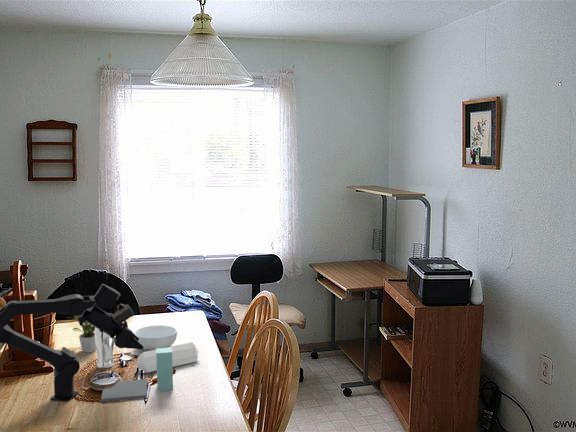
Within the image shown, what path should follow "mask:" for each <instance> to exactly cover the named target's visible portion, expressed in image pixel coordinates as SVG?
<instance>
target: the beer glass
mask: <svg viewBox="0 0 576 432" xmlns="http://www.w3.org/2000/svg"><path fill="white" fill-rule="evenodd" d="M94 333H95V345H96V350H95V351H96V353H97V363H96V368H98V369H109V368H112V367H114V366H115V361H114V357H113V352H114V347H115V343H114V338H115V337H114V338H113V339H112V338H110V336H109V335H108V334H106V333H104V332H100V331H99V329H98V328H96V327H95V330H94Z"/></svg>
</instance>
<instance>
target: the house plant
mask: <svg viewBox="0 0 576 432" xmlns="http://www.w3.org/2000/svg"><path fill="white" fill-rule="evenodd" d="M65 318H72V317H70V316H69V317H65ZM73 319H74V320H75V321H77V322H79V320H78V318H77V316H75V315H73ZM81 328H82V330H81V329H80V328H78V327H74V328H72V331H73V332H76V331H80V332H82V333H81V334H79V336H78V338H79V344H80V347H81V352H82V353H92V352H95V351H97V350H96V345H95V327H94V326H93V325H91V324H89V323H88V322H86V321H85V322H84V323H83V324H82V326H81Z"/></svg>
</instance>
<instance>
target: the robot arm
mask: <svg viewBox="0 0 576 432" xmlns="http://www.w3.org/2000/svg"><path fill="white" fill-rule="evenodd" d="M120 296H121V293H120V292H118V291H117V290H116V289H114V288H113V287H111V286H108V285H106V284H104V283H101V285H100V286H99V289H98V290H97V291H96V293H95V294H94V295H81V294H79V293H78V294H77V293H73V294H69V295H64V296H61V297H59V298H58V297H57V298H53V299H52V298H49V299H48V298H47V299H30V300H27V299H26V300H10V301H8V302H7V303H6V304H5V305H4V306H3V307H2V308H1V309H0V344H4V345H5V344H6V345H8V346H11V347H12V348H16V349H17V350H20V351H22V352H25V353H26V354H28V355H31V356H33V357H35V358H38V359H39V360H42V361H44V362H47V363H48V364H49V365H51V367H53V369H52V370H53V391H54V395H53V396H51V397H50V398H49V400H50V401H63V402H70V401H71V400H72V399H73V398H75V397H76V396H77V395H78V394H79V391H75V384H74V383H75V381H74V376H75V375H76V374H77V373H78V372H79V371H80V367H81V366H80V361H79V357H78V355H77V354H75V350H70V349H68V348H66V347H65V346H62V347H61V350H59V349H54V348H52V347H50V346H47V345H46V344H43V343H40V342H39V341H37V340H35V339H32V338H30V337H28V336H26V335H23V334H22V333H19V332H17V331H15V330H13V329H12V328H11V326H10V325H8V324H9V323H10V321H11V320H12V319H13V318H14V317H15V316H18V315H19V316H20V315H34V314H35V315H36V314H52V313H53V314H54V313H56V314H62V315H66V316H74V315H75V316H74V317H76V316H77V317H76V318H78V320H79V321H78V320H77V321H78V324H79V326H80V327H82V324H84V322H85V321H86V322H88V323H89V324H91V325H93V326H94V327H96V328H98V329H99V331H100V332H104V333H106V334H108V335H109V336H110V338H112V339H113V338H114V347H117V348H119V349H121V350H122V349H134V350H143V349H144V347H143V345H141V344H140V343H139V342H138V340H139V338H138V337H137V336H136V335H135V334H134V332H133V330H132V329H130V328H129V325H128V321H127V320H129V319H130V318H132V317H134V316H135V312H134V310H133V309H132V307H130V305H129V304H123V303H120V304H118V305H117V310H116V311H115V312H114V313H111V312H106V311H105V310H108V309H110V310H111V308H112V307H113V305H114V304H115V303H116V301H118V299H119V298H120Z"/></svg>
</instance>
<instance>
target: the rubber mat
mask: <svg viewBox="0 0 576 432" xmlns="http://www.w3.org/2000/svg"><path fill="white" fill-rule="evenodd" d="M147 381H148V378H142V379H133V380H131V379H130V380H121V381H120V380H119V381H117V382H118V383H117V385H116V386H114V387H112V388H109V389H103V388H102V392H101V397H100V403H107V402H118V401H119V402H120V401H127V400H128V401H129V400H130V401H131V400H139V399H147V394H148V392H147V391H148V388H147V387H148V384H147V383H148V382H147Z"/></svg>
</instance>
